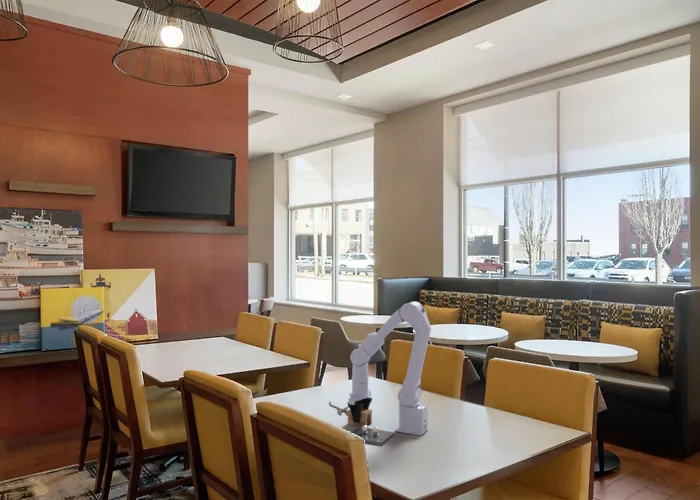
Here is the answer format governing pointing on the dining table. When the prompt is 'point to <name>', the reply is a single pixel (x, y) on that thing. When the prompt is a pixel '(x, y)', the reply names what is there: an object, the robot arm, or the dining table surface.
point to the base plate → (373, 435)
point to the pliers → (340, 409)
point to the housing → (361, 418)
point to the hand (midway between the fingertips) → (359, 420)
